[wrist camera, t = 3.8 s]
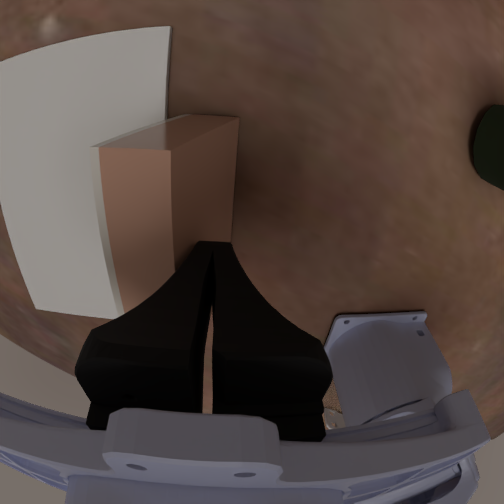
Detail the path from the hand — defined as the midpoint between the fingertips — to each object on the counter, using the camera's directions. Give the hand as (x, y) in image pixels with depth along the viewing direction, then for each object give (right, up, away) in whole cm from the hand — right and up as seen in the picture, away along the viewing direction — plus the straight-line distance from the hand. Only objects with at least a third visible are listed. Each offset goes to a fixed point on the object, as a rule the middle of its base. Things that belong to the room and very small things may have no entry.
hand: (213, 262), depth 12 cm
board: (-10, +4, +5) cm, 12 cm away
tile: (-1, +3, +5) cm, 6 cm away
